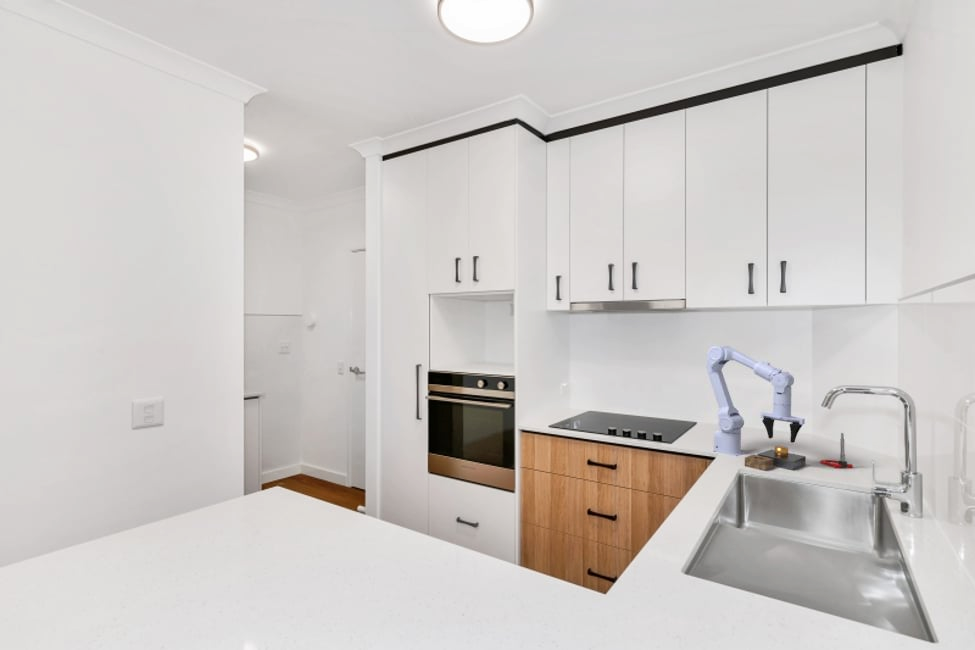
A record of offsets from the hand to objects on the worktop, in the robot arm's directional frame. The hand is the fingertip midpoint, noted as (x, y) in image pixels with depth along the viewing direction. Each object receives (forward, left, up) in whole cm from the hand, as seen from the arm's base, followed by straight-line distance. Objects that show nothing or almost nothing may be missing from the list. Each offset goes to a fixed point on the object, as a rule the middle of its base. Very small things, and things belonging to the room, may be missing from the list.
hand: (781, 440), depth 180 cm
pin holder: (-3, -12, -9) cm, 15 cm away
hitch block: (0, 0, -9) cm, 9 cm away
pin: (0, 0, -9) cm, 9 cm away
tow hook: (+12, +17, -10) cm, 23 cm away
